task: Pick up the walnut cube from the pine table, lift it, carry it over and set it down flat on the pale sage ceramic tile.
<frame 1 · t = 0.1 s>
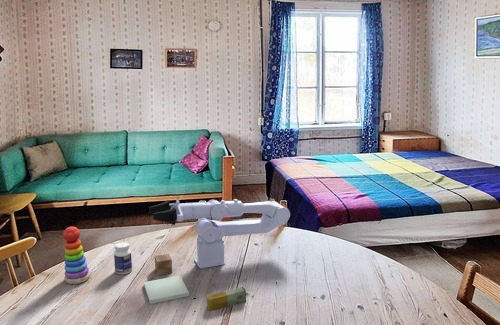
hand: (151, 213, 139), 22 cm above the table, tool horizontal, fingers open, 7 cm apart
stacking toy: (77, 279, 139), on the table
medication box: (226, 305, 124), on the table
walnut cube: (163, 270, 145), on the table
sage tile: (165, 290, 132), on the table
pill bottle: (123, 271, 145), on the table
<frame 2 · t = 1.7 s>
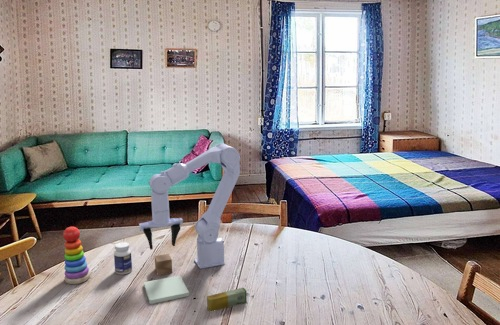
hand: (162, 246, 143), 9 cm above the table, tool pointing down, fingers open, 7 cm apart
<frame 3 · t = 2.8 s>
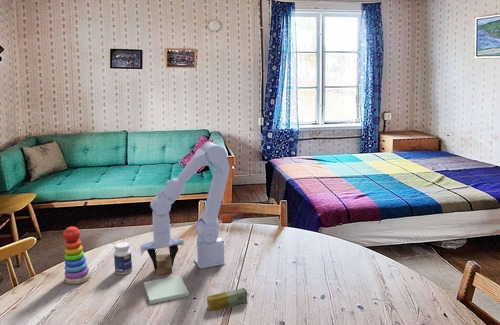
hand: (163, 266, 145), 1 cm above the table, tool pointing down, fingers closed on walnut cube, 5 cm apart
walnut cube: (163, 270, 145), on the table, touching gripper
everything else where it was.
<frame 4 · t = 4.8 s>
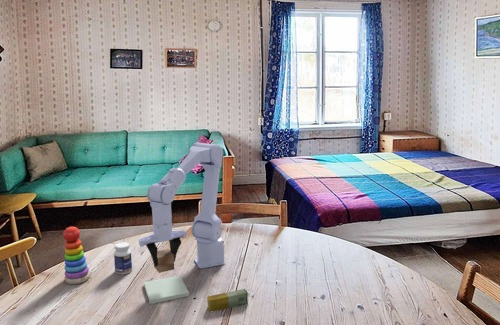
hand: (164, 262, 130), 9 cm above the table, tool pointing down, fingers closed on walnut cube, 5 cm apart
walnut cube: (164, 267, 131), point 8 cm above the table, touching gripper
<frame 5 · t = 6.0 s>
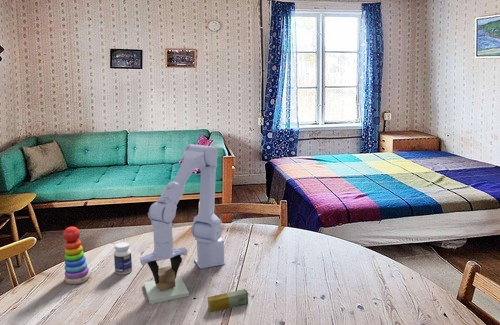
hand: (165, 280, 131), 4 cm above the table, tool pointing down, fingers closed on walnut cube, 5 cm apart
walnut cube: (165, 285, 132), point 2 cm above the table, touching gripper
when the fingers open (4 cm above the table, at t = 6.9 s): walnut cube stays where it is, resting on sage tile.
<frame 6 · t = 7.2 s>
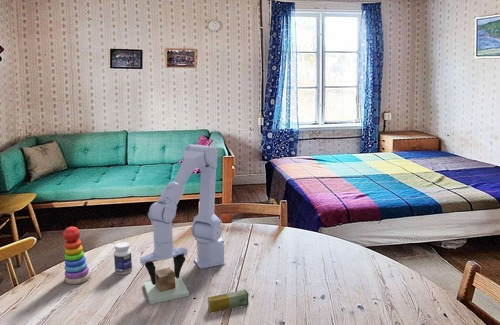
hand: (165, 280, 131), 4 cm above the table, tool pointing down, fingers open, 7 cm apart
walnut cube: (165, 286, 132), point 1 cm above the table, touching sage tile
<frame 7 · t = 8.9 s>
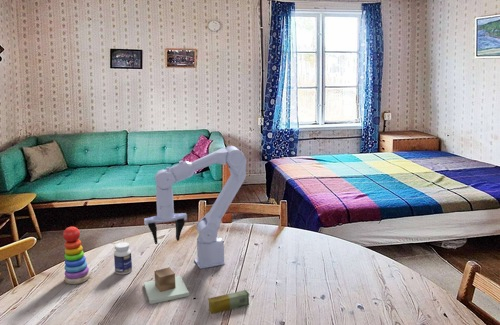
hand: (166, 241, 145), 10 cm above the table, tool pointing down, fingers open, 7 cm apart
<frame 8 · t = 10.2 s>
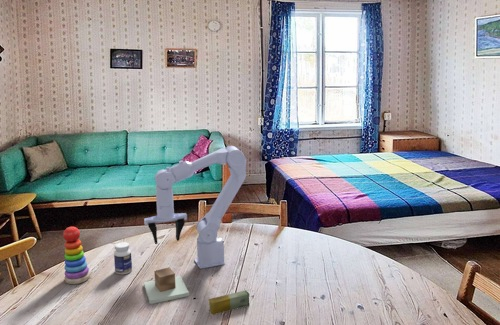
hand: (166, 241, 145), 10 cm above the table, tool pointing down, fingers open, 7 cm apart
at the end: walnut cube inside the target area on the sage tile (0.4 cm from its centre), point 1.2 cm above the sage tile's base; walnut cube tilted 0°; the gripper is holding nothing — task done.
